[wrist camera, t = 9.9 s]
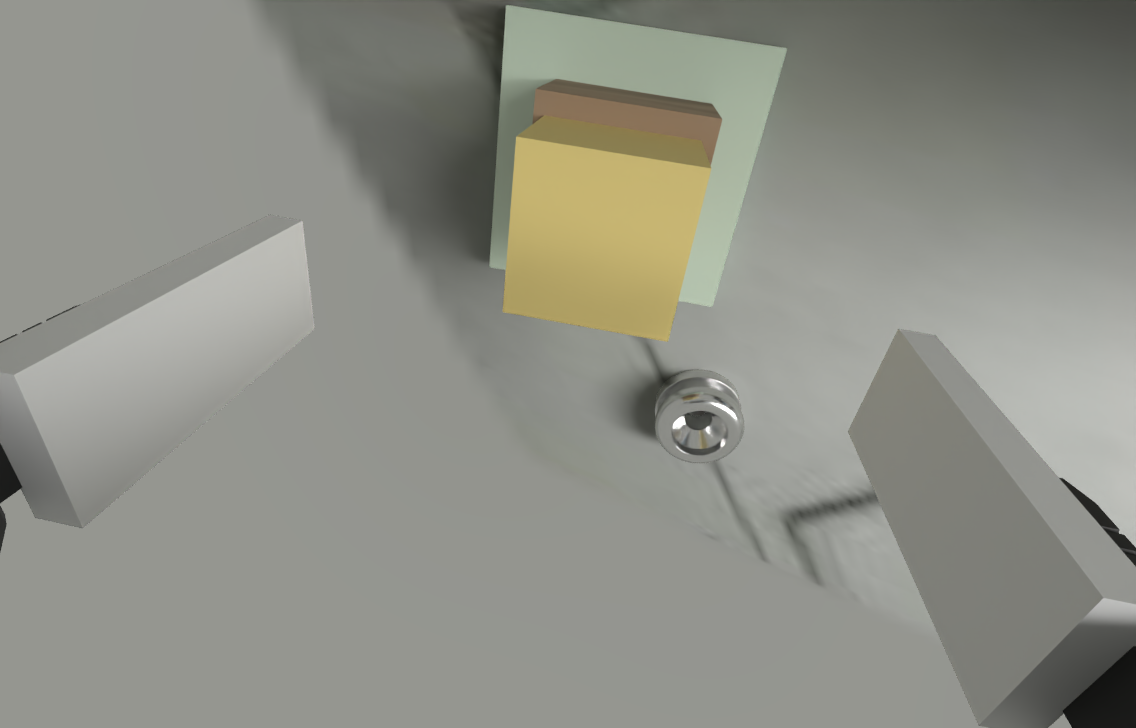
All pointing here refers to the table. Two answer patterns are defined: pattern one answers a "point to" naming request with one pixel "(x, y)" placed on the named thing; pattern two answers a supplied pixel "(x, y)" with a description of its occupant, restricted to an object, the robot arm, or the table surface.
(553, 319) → the mustard cube
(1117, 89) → the table surface
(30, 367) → the robot arm
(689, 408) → the metal grooved wheel
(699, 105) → the walnut base
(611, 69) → the build plate
